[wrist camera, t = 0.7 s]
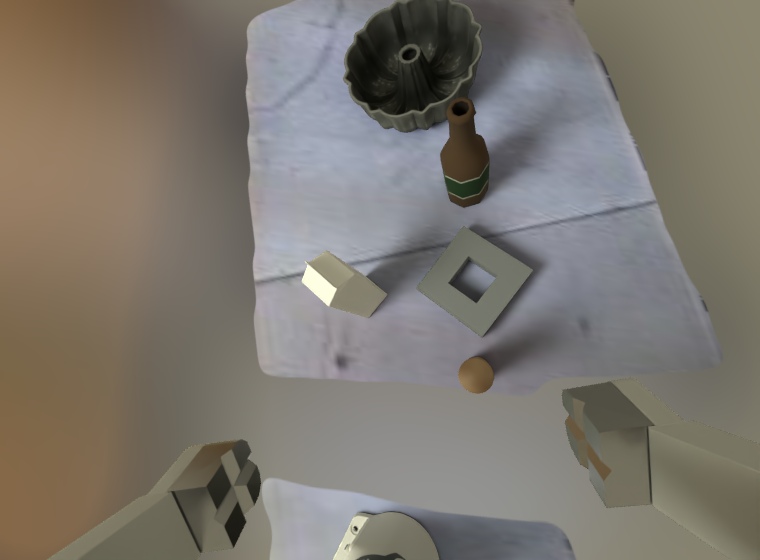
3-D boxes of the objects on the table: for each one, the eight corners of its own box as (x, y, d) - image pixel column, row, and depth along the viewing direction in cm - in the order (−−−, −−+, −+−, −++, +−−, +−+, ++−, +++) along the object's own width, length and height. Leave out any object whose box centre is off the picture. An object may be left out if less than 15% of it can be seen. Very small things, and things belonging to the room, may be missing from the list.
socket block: (482, 337, 61) (482, 336, 58) (418, 290, 66) (416, 288, 63) (530, 273, 61) (533, 269, 58) (464, 231, 66) (463, 225, 63)
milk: (365, 276, 69) (317, 242, 49) (388, 294, 67) (347, 268, 47) (346, 300, 70) (289, 276, 49) (368, 319, 68) (319, 303, 47)
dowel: (479, 388, 60) (480, 400, 45) (458, 371, 61) (451, 377, 46) (495, 367, 60) (500, 373, 45) (473, 351, 61) (472, 351, 46)
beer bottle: (496, 191, 66) (506, 107, 43) (462, 217, 66) (453, 147, 44) (471, 163, 68) (466, 69, 45) (438, 188, 69) (418, 108, 46)
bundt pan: (338, 89, 80) (319, 54, 71) (435, 14, 77) (429, -33, 68) (398, 171, 72) (386, 144, 63) (509, 91, 69) (514, 50, 59)
